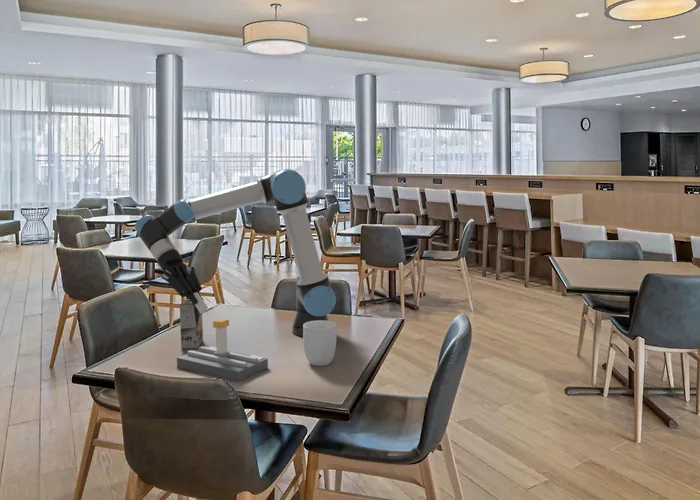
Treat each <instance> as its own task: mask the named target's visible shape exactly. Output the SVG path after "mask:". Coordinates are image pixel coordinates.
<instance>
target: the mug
mask: <svg viewBox="0 0 700 500" xmlns="http://www.w3.org/2000/svg"><path fill="white" fill-rule="evenodd" d="M302 338H303V341H302V343H303V349H304V353H305V357H306V359H307V361H308V362H309V364H310V365H312V366H315V367H326V366H329V364H330V363H331V362H332V361H333V359H334V356H335V353H336V348H337V323H336V322H335V321H331V320H329V321H325V320H317V321H310V322H306V323H304V325H303V336H302Z"/></svg>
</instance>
